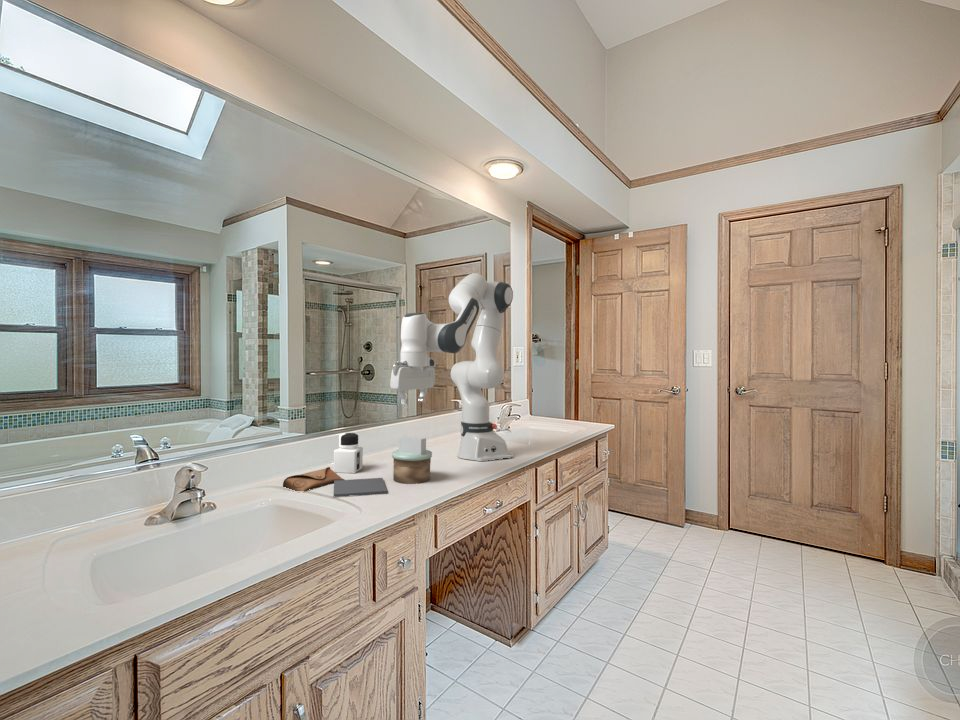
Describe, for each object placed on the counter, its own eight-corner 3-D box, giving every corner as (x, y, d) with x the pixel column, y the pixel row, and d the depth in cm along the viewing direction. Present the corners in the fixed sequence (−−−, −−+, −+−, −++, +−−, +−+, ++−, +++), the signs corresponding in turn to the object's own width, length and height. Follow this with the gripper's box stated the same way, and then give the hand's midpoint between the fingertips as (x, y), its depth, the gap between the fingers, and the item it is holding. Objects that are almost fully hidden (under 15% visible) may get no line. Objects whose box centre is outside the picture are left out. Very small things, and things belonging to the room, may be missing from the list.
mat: (382, 480, 149) (382, 477, 149) (386, 493, 135) (386, 490, 135) (334, 483, 145) (334, 480, 145) (333, 497, 131) (333, 494, 131)
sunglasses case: (301, 493, 134) (293, 472, 135) (287, 502, 137) (280, 481, 138) (347, 479, 149) (340, 460, 151) (333, 487, 152) (326, 469, 154)
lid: (439, 460, 154) (439, 436, 154) (416, 468, 143) (416, 442, 143) (408, 455, 161) (408, 432, 160) (383, 463, 149) (384, 438, 149)
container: (362, 468, 165) (363, 432, 165) (354, 473, 157) (355, 435, 157) (341, 467, 165) (342, 431, 165) (333, 472, 158) (333, 435, 158)
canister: (426, 473, 159) (426, 451, 159) (433, 482, 148) (433, 459, 148) (391, 475, 156) (391, 453, 156) (395, 484, 144) (395, 461, 144)
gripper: (401, 361, 141) (401, 406, 141) (438, 361, 159) (437, 401, 159) (385, 361, 144) (385, 405, 144) (423, 361, 162) (422, 400, 162)
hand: (413, 403), depth 152 cm, fingers open, 8 cm apart
